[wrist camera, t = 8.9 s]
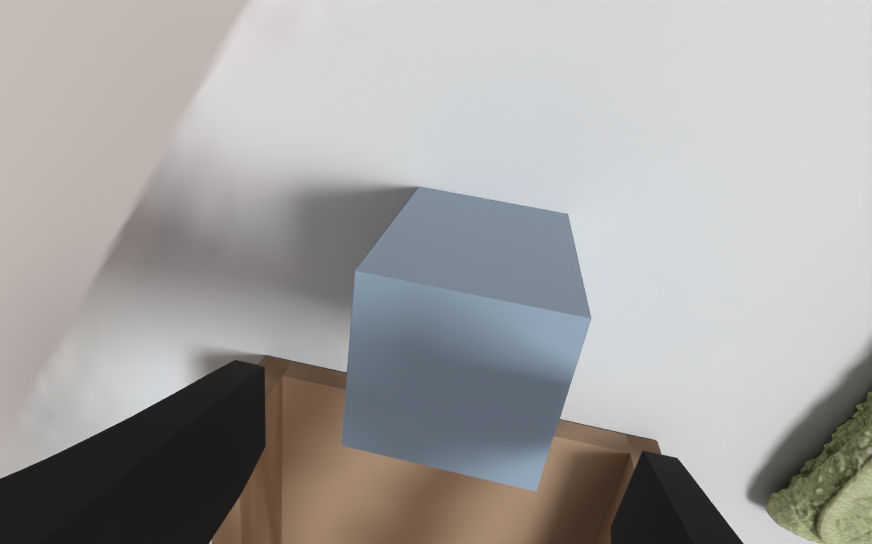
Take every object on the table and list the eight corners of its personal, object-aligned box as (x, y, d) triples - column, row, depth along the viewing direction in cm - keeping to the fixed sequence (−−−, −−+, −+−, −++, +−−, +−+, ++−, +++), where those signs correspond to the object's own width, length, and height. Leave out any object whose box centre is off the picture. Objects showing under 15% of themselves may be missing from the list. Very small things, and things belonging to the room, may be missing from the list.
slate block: (567, 214, 17) (591, 318, 10) (534, 341, 19) (535, 491, 12) (419, 186, 17) (354, 270, 11) (403, 313, 19) (341, 445, 13)
